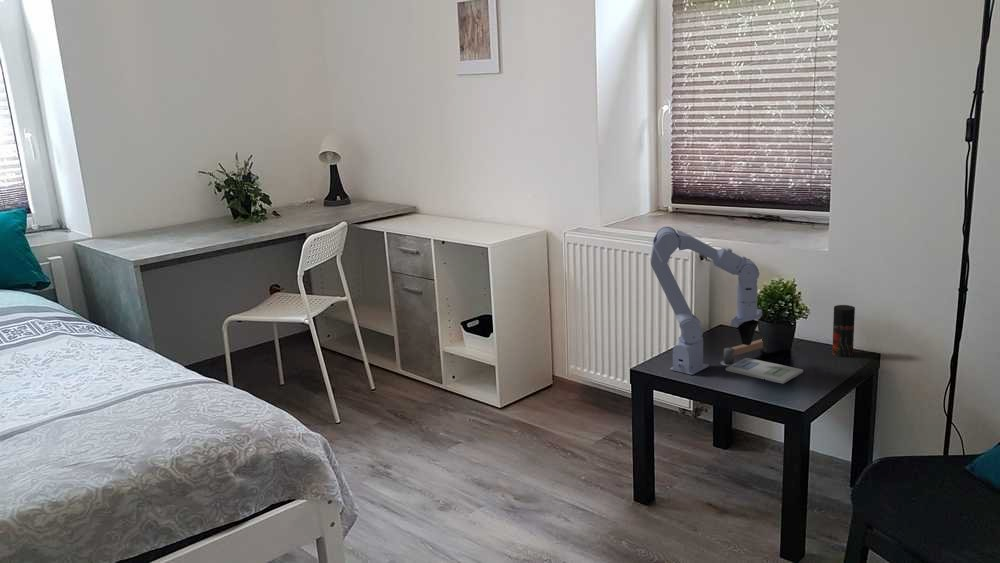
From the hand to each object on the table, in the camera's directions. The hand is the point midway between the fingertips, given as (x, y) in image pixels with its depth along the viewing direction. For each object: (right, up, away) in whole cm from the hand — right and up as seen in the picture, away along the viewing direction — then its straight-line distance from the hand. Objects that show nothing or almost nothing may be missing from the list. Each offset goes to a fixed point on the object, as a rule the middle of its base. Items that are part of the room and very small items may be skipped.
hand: (746, 344), depth 246 cm
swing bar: (+4, -4, +10) cm, 12 cm away
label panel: (+3, -8, -1) cm, 8 cm away
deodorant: (+32, -4, +8) cm, 34 cm away
